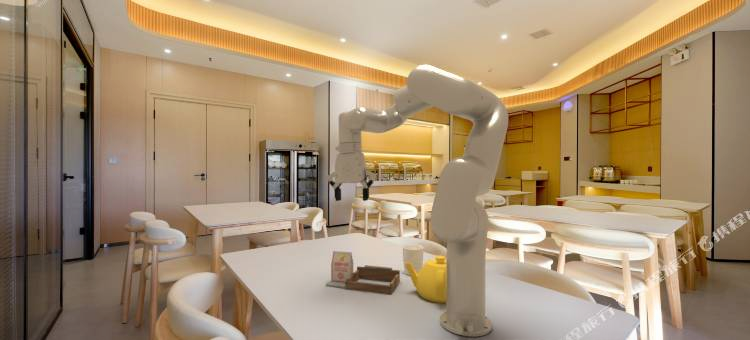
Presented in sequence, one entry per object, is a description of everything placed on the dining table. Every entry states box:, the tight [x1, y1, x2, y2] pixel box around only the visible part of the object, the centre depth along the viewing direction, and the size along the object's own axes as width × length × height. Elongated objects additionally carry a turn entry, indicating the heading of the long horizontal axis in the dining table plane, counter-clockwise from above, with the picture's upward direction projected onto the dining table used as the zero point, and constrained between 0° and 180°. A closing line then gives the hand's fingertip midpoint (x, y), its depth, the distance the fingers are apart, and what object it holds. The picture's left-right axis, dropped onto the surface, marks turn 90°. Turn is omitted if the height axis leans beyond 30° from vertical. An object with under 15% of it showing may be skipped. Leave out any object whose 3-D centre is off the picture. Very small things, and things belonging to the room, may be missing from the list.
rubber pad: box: [325, 280, 345, 289], centre depth 111 cm, size 11×7×1 cm, turn 163°
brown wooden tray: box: [344, 264, 401, 296], centre depth 107 cm, size 12×16×5 cm
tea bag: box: [330, 250, 354, 283], centre depth 110 cm, size 4×7×10 cm, turn 73°
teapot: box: [406, 254, 446, 304], centre depth 100 cm, size 17×17×12 cm
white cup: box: [402, 244, 424, 276], centre depth 120 cm, size 8×8×10 cm
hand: (351, 200), depth 105 cm, fingers open, 9 cm apart
